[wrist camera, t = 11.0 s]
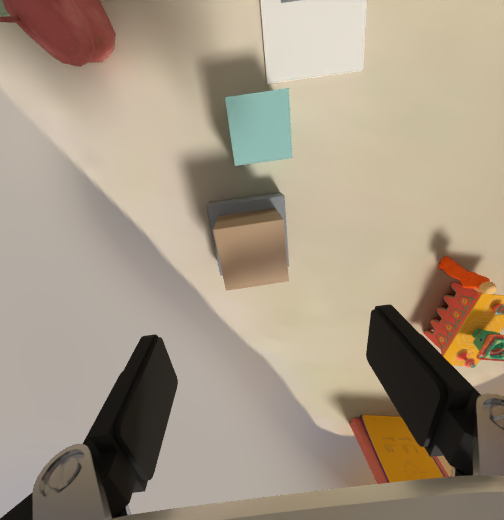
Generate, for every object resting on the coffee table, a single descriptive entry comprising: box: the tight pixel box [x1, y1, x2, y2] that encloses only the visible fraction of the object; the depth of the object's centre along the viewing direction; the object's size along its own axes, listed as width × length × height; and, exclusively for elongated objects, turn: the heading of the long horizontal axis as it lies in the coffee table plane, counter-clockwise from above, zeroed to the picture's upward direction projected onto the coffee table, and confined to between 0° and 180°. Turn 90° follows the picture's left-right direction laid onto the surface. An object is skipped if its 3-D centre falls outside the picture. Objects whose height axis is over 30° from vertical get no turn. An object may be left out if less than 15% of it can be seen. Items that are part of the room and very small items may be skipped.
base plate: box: [206, 193, 289, 275], centre depth 27 cm, size 8×8×2 cm
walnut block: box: [213, 208, 289, 290], centre depth 23 cm, size 6×6×5 cm
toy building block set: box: [350, 257, 504, 484], centre depth 31 cm, size 12×35×14 cm, turn 172°
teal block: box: [225, 88, 292, 166], centre depth 21 cm, size 5×5×5 cm
